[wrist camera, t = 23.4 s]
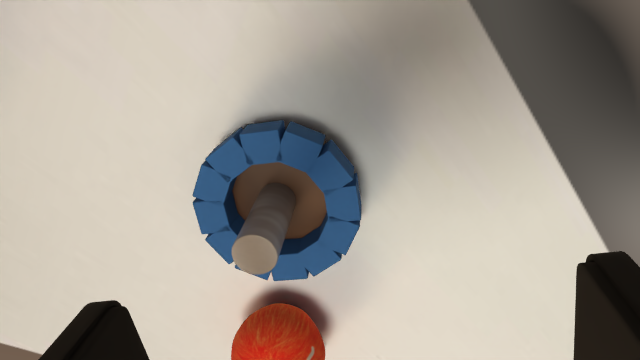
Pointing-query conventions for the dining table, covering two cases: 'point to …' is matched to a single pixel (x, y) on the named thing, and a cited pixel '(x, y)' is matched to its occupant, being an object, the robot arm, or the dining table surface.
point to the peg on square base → (273, 213)
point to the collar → (298, 152)
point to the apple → (278, 335)
